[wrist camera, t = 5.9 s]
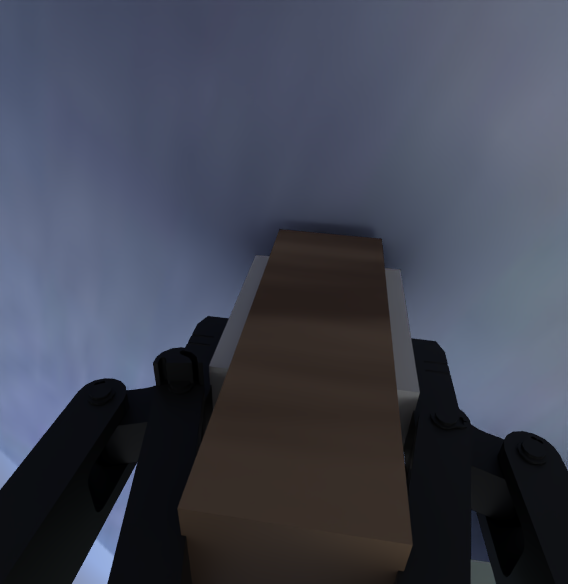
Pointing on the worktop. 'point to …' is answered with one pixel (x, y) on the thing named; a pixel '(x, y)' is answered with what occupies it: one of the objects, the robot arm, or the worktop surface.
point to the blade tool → (305, 430)
